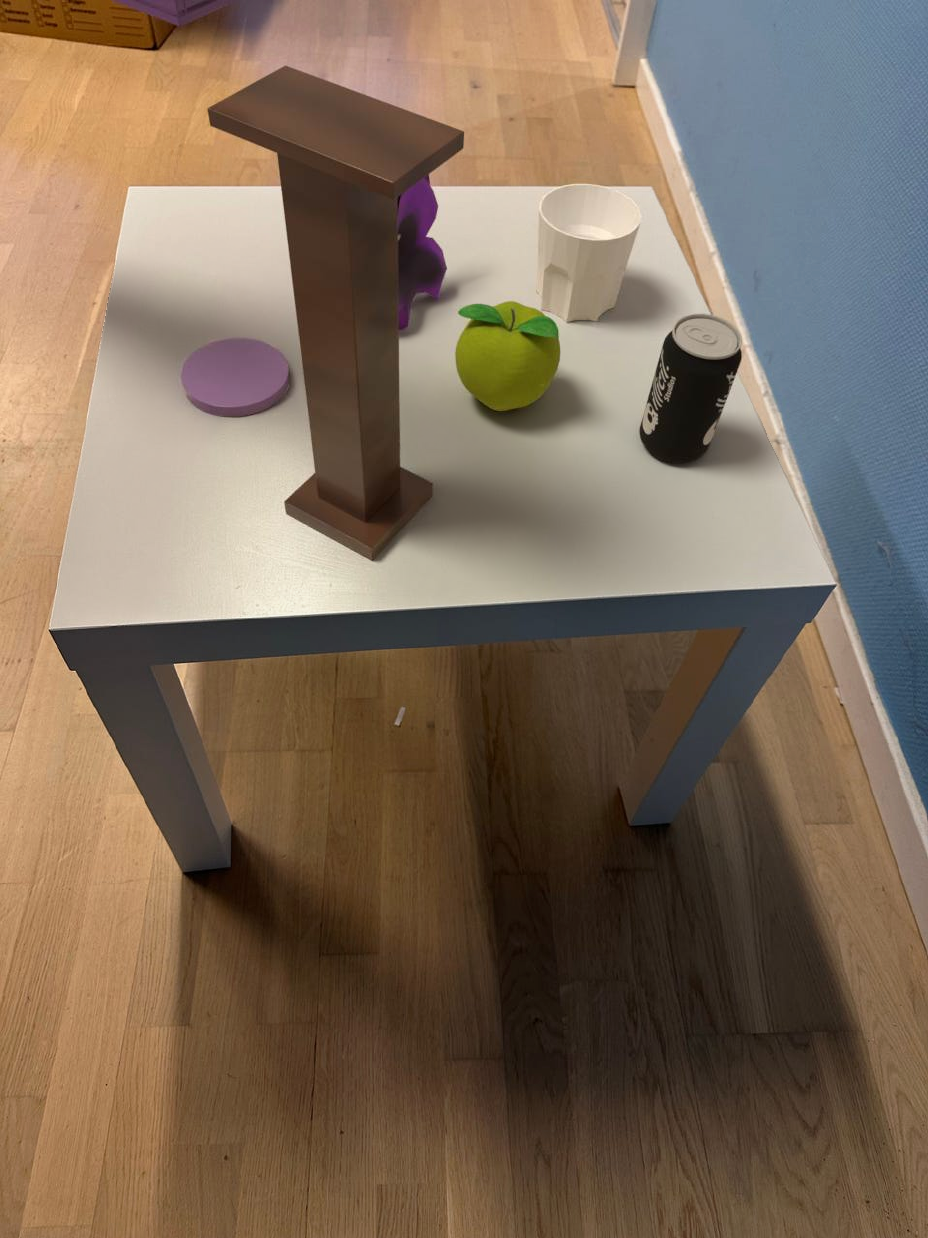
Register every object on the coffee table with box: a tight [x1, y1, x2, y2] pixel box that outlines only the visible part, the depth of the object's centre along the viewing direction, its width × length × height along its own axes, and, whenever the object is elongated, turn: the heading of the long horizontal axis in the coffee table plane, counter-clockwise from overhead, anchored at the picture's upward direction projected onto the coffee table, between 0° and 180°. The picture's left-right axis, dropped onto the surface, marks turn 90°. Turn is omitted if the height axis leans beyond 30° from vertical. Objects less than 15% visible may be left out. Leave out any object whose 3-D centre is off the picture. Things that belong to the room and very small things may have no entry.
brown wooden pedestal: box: [206, 65, 465, 561], centre depth 64 cm, size 9×13×32 cm
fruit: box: [454, 300, 561, 412], centre depth 82 cm, size 9×9×10 cm
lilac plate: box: [180, 337, 291, 418], centre depth 85 cm, size 10×10×1 cm
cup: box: [535, 183, 642, 323], centre depth 91 cm, size 10×10×10 cm
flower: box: [397, 174, 448, 331], centre depth 91 cm, size 15×15×14 cm
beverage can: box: [638, 313, 743, 464], centre depth 78 cm, size 7×7×12 cm
